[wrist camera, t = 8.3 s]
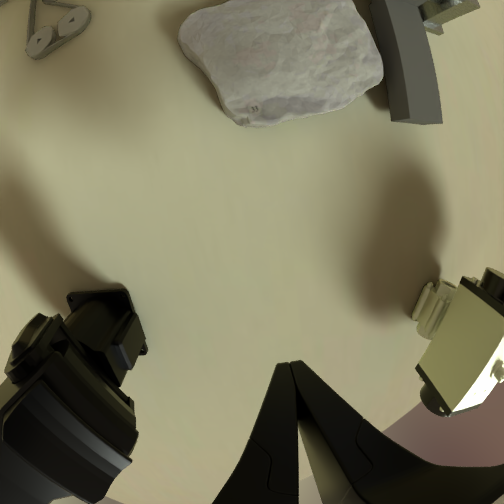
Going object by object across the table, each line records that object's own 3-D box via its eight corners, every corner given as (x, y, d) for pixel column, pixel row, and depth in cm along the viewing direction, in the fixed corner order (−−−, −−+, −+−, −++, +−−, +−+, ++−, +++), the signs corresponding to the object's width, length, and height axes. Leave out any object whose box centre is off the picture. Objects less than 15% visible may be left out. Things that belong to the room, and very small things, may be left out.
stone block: (370, 87, 18) (315, -15, 13) (404, 88, 14) (338, -37, 9) (239, 146, 20) (174, 38, 15) (244, 158, 16) (161, 21, 11)
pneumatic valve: (386, 349, 24) (442, 439, 13) (434, 239, 20) (535, 301, 9) (423, 350, 25) (478, 425, 13) (468, 251, 21) (554, 306, 10)
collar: (391, 121, 16) (437, 115, 11) (356, -31, 11) (381, -63, 6) (422, 124, 16) (470, 122, 11) (387, -23, 11) (416, -50, 6)
